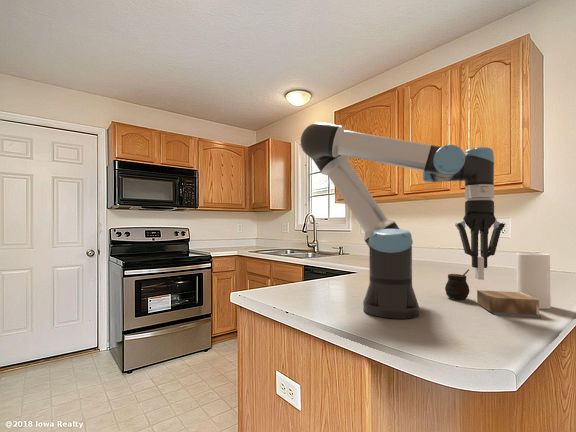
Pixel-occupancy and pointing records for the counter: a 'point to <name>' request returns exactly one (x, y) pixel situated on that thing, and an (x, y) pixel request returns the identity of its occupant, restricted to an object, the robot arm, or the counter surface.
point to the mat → (516, 314)
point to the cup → (534, 277)
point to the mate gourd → (457, 286)
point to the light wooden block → (508, 302)
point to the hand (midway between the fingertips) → (479, 278)
